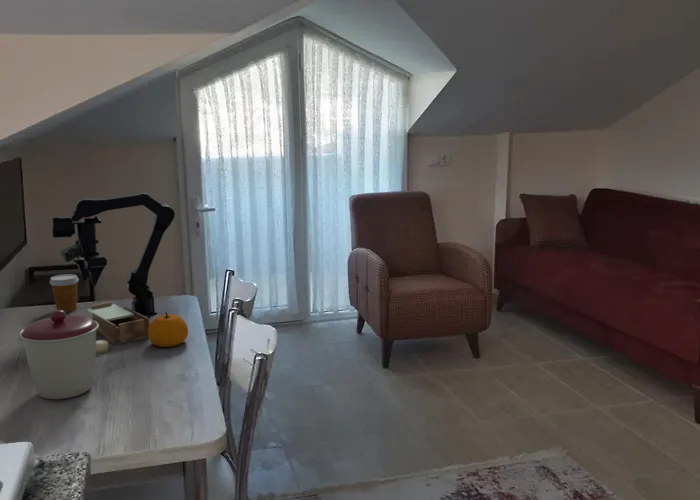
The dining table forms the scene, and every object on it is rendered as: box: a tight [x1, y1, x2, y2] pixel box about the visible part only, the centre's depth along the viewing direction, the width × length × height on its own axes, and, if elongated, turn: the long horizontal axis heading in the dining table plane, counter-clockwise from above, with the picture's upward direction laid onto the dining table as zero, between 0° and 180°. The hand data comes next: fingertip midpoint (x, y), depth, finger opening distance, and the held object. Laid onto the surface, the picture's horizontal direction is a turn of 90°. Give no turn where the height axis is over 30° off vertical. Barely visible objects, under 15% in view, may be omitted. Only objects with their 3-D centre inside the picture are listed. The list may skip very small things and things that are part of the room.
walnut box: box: [91, 306, 150, 346], centre depth 213 cm, size 11×17×6 cm, turn 41°
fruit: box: [148, 311, 189, 348], centre depth 204 cm, size 12×12×10 cm
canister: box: [18, 309, 99, 400], centre depth 168 cm, size 18×18×21 cm
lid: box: [86, 301, 134, 321], centre depth 219 cm, size 9×15×2 cm, turn 41°
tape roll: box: [96, 339, 109, 355], centre depth 199 cm, size 5×5×2 cm
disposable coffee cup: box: [49, 273, 80, 313], centre depth 240 cm, size 10×10×12 cm
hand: (89, 283), depth 227 cm, fingers open, 9 cm apart
